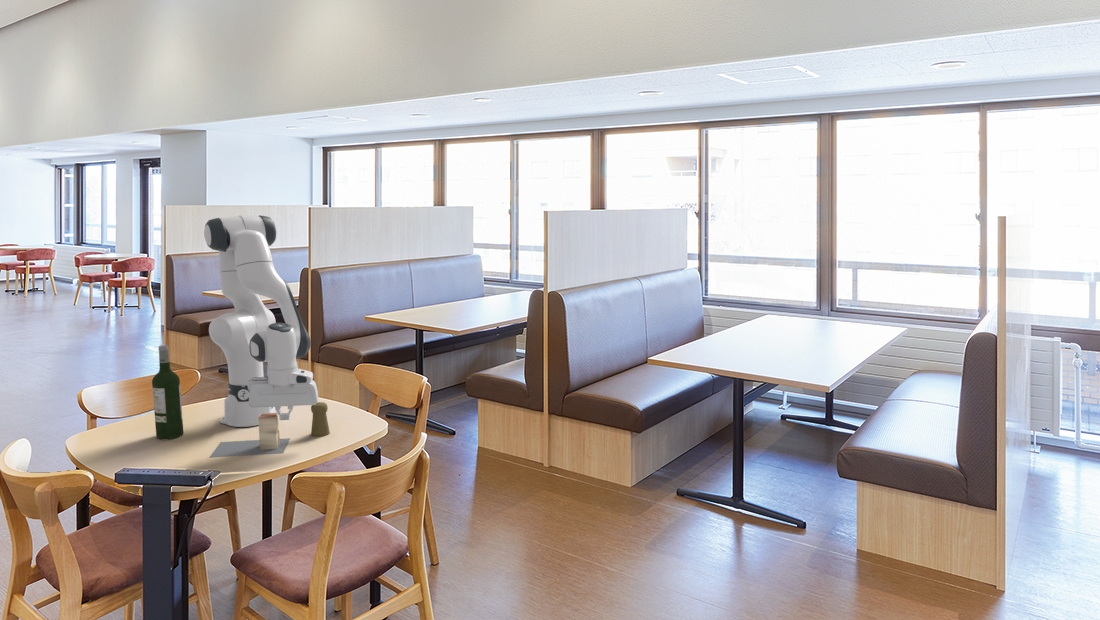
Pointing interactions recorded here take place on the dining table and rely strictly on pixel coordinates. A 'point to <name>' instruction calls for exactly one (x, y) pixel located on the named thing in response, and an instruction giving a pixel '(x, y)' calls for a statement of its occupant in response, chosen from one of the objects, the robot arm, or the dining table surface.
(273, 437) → the pine block
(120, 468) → the dining table surface
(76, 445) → the dining table surface
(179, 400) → the wine bottle
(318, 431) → the cork
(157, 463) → the dining table surface
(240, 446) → the rubber mat
